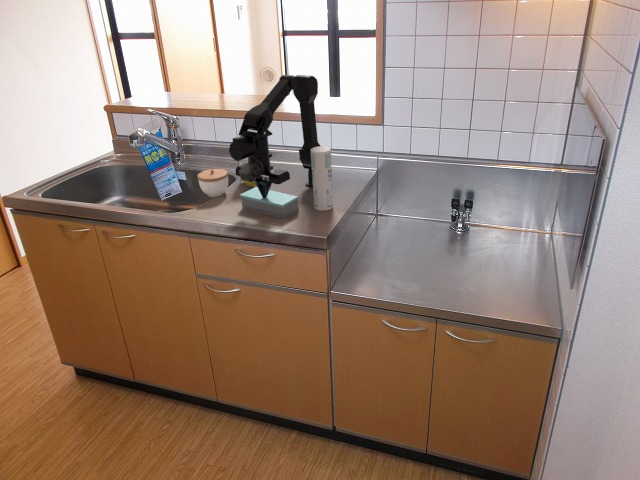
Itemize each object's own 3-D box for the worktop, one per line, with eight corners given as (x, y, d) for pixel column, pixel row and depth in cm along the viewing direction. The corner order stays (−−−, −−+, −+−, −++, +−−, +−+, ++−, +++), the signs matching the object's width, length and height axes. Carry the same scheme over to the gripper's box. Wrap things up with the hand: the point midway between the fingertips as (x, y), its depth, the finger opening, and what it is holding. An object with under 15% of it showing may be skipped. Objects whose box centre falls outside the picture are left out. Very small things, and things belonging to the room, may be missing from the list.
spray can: (332, 211, 169) (329, 152, 159) (312, 210, 170) (308, 152, 160) (334, 203, 174) (332, 146, 165) (315, 203, 175) (312, 146, 166)
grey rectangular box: (258, 199, 180) (256, 189, 179) (298, 209, 171) (297, 198, 169) (242, 208, 175) (241, 197, 173) (283, 218, 165) (282, 207, 163)
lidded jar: (197, 200, 183) (193, 175, 179) (204, 188, 193) (200, 165, 189) (227, 198, 183) (224, 173, 179) (232, 187, 193) (229, 163, 188)
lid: (256, 189, 179) (256, 186, 178) (298, 198, 169) (298, 196, 169) (240, 196, 173) (239, 194, 172) (282, 207, 163) (282, 205, 163)
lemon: (258, 190, 189) (256, 169, 185) (243, 190, 189) (240, 170, 185) (260, 184, 194) (258, 164, 190) (245, 185, 194) (243, 164, 190)
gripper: (220, 154, 161) (227, 201, 168) (265, 163, 151) (270, 212, 158) (244, 145, 169) (249, 189, 176) (289, 153, 159) (292, 200, 166)
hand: (264, 197), depth 169 cm, fingers closed, pressing on lid
